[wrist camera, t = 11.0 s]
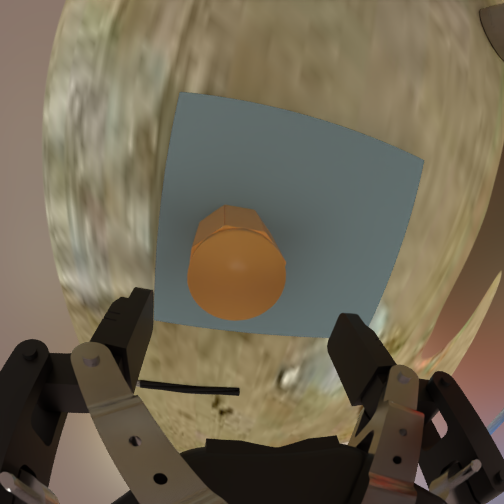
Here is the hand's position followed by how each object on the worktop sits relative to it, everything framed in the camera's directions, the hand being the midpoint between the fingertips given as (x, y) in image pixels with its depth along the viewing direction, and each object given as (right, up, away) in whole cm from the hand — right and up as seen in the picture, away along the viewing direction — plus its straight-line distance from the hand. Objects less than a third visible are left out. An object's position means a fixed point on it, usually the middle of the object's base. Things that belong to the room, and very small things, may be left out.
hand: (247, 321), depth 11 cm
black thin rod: (-7, -12, +17) cm, 22 cm away
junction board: (+3, +4, +11) cm, 12 cm away
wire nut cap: (-1, +4, +9) cm, 10 cm away
